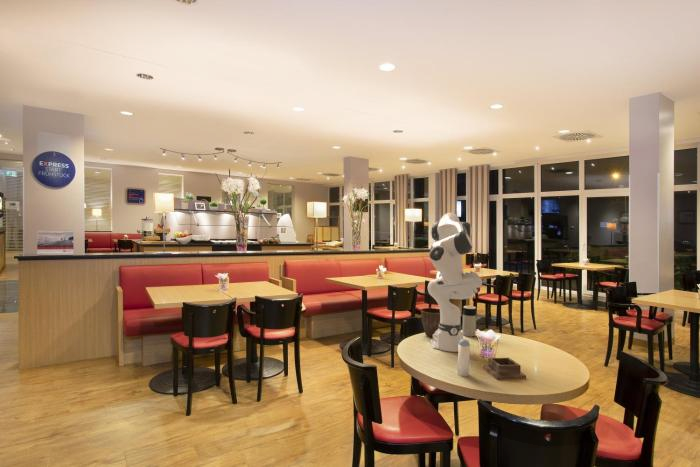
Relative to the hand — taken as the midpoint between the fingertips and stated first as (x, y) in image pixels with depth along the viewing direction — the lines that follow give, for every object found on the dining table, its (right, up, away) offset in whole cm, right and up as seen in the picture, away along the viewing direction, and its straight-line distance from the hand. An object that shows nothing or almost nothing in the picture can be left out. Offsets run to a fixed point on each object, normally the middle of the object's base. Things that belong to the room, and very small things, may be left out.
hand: (466, 293), depth 182 cm
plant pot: (-3, -36, +62) cm, 72 cm away
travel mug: (+21, -37, +65) cm, 77 cm away
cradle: (+18, -38, +2) cm, 42 cm away
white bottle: (-2, -38, -1) cm, 38 cm away
